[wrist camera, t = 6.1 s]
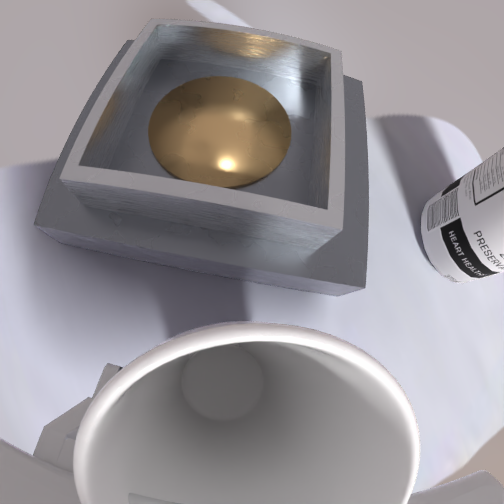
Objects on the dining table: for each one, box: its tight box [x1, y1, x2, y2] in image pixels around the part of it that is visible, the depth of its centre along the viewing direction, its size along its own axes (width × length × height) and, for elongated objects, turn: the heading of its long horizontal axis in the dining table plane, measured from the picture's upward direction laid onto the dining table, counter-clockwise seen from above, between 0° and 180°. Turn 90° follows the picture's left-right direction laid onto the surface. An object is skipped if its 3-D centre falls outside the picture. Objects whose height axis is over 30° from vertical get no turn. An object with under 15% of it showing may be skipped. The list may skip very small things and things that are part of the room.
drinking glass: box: [73, 321, 420, 504], centre depth 11 cm, size 7×7×15 cm
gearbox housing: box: [34, 19, 369, 296], centre depth 18 cm, size 20×17×8 cm
